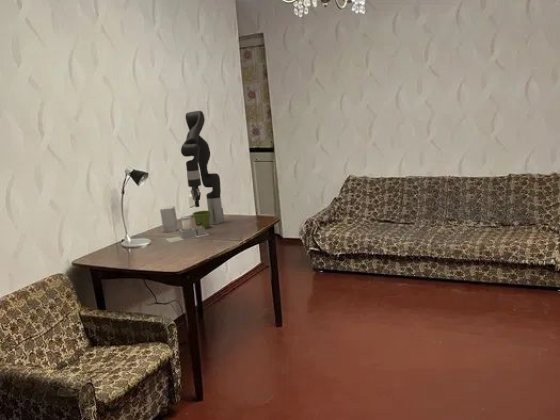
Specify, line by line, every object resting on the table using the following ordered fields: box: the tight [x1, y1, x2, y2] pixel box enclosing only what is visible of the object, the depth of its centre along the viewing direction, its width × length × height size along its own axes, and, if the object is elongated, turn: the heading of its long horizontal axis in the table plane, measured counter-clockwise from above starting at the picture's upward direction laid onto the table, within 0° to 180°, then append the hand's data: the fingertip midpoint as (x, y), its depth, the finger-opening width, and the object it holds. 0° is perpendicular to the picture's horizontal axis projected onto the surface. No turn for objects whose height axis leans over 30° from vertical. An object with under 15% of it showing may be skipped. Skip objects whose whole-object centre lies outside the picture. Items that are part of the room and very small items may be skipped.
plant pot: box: [192, 210, 211, 229], centre depth 334 cm, size 12×12×11 cm
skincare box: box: [159, 206, 179, 234], centre depth 338 cm, size 8×7×16 cm
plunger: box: [195, 222, 203, 229], centre depth 316 cm, size 4×4×7 cm
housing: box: [165, 226, 210, 243], centre depth 314 cm, size 24×10×6 cm, turn 115°
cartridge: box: [181, 215, 191, 231], centre depth 313 cm, size 5×5×12 cm
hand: (197, 206), depth 314 cm, fingers closed
